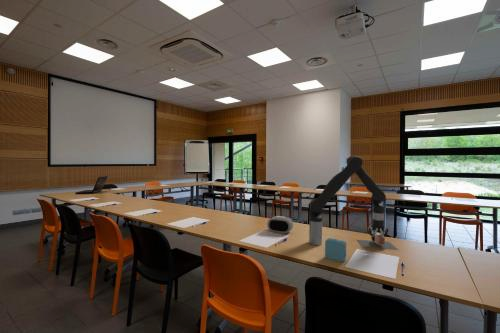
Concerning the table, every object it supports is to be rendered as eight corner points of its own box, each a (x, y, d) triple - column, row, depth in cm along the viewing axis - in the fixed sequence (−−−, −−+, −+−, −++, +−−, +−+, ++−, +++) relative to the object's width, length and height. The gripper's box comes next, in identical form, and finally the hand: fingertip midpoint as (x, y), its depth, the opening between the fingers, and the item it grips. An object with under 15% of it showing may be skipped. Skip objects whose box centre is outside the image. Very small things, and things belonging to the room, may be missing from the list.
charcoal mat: (362, 248, 176) (362, 247, 176) (355, 240, 194) (356, 239, 194) (398, 250, 172) (398, 250, 172) (389, 242, 190) (389, 241, 190)
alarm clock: (267, 232, 214) (267, 216, 214) (270, 229, 223) (270, 214, 223) (290, 235, 206) (290, 219, 206) (292, 232, 215) (293, 216, 215)
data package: (346, 260, 155) (346, 241, 155) (344, 262, 151) (344, 243, 151) (327, 255, 162) (327, 237, 162) (324, 257, 159) (325, 239, 158)
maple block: (371, 238, 190) (377, 244, 177) (371, 232, 190) (377, 237, 176) (378, 238, 189) (384, 245, 176) (378, 232, 189) (384, 238, 176)
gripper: (369, 219, 180) (368, 242, 180) (390, 220, 177) (390, 243, 178) (366, 217, 187) (365, 239, 188) (386, 218, 185) (386, 240, 185)
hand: (377, 241), depth 183 cm, fingers closed on maple block, 5 cm apart
